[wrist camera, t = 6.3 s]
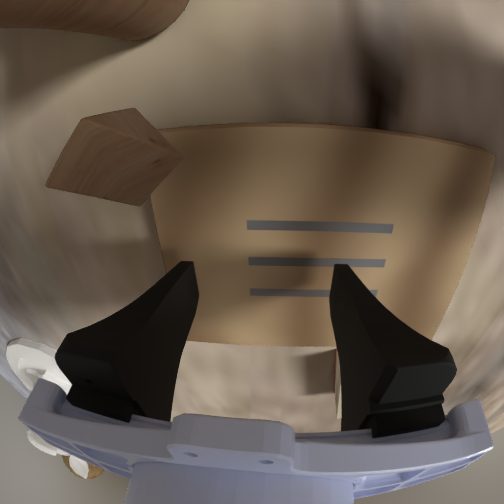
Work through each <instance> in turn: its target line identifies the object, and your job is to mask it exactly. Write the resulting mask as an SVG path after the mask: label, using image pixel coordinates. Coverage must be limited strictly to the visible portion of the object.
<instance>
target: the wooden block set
mask: <svg viewBox="0 0 504 504" xmlns="http://www.w3.org/2000/svg"><path fill="white" fill-rule="evenodd" d="M188 2H189V0H0V28H41V29H55V30H66V31H75V32H82V33H89V34H96V35H102V36H108V37H113V38H118V39H123V40H133V41H137V40H141V39H145V38H149V37H151V36H153V35H155V34H157V33H159V32H161V31H163V30H164V29H166V28H167V27H168V26H169V25H171V24H172V23H173V22H175V21H176V19H177V18H178V17H179V16H180V15H181V13H182V12H183V11H184V10H185V8H186V6H187V4H188ZM182 160H183V156H182V155H181V154H180V153H179V152H178V151H177V150H176V149H175V148H174V147H173V146H172V145H171V144H170V143H169V142H168V141H167V140H166V139H165V138H164V137H163V136H162V135H161V134H160V133H159V132H158V131H157V130H156V129H155V128H154V127H153V126H152V125H151V124H150V123H149V122H148V121H147V120H146V119H145V118H144V117H143V116H142V115H141V114H140V113H139V112H138V111H137V110H136V109H135V108H130V109H124V110H119V111H113V112H108V113H103V114H99V115H94V116H90V117H86V118H83V119H81V120H80V122H79V124H78V125H77V127H76V128H75V130H74V132H73V133H72V135H71V137H70V139H69V140H68V142H67V144H66V146H65V147H64V149H63V151H62V153H61V155H60V157H59V159H58V160H57V162H56V164H55V166H54V168H53V170H52V172H51V174H50V176H49V178H48V181H47V183H46V187H48V188H53V189H58V190H63V191H68V192H73V193H78V194H83V195H87V196H92V197H97V198H102V199H106V200H111V201H116V202H121V203H125V204H130V205H134V206H141V205H142V204H143V202H144V201H145V200H146V199H147V198H148V197H149V196H150V194H151V193H152V192H153V191H154V190H155V189H156V188H157V187H158V185H159V184H160V183H161V182H162V181H163V180H164V179H165V178H166V177H167V176H168V175H169V173H170V172H171V171H172V170H173V169H174V168H175V167H176V166H177V165H178V164H179V163H180V162H181V161H182Z"/></svg>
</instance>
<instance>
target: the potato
mask: <svg viewBox="0 0 504 504" xmlns="http://www.w3.org/2000/svg"><path fill="white" fill-rule="evenodd" d="M62 457H63V460H64V463H65V464H66V466H67V467H68V468H69V470H70V471H71V472H72V473H73V474H74V475H76V476H78V477H80V478H83V477H82V476H80V475H78V474H76V473H75V472H74V471H73V469H72V468H71V467H70V463H69V457H70V456H65V455H62ZM86 463H87V464H88V469H89V472H88V476H87V478H88V479H93V478H96V477H98V476H100V475H101V474H102V473H103V471H104V469H102V468H100V467H97V466H95V465H93V464H90V463H88V462H86Z"/></svg>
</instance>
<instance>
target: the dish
mask: <svg viewBox="0 0 504 504" xmlns="http://www.w3.org/2000/svg"><path fill="white" fill-rule="evenodd" d="M56 352H57V351H56V350H54V349H52V348H50V347H48V346H46V345H44V344H42V343H38V342H34V341H30V340H26V339H23V338H20V339H17V340H14V341H11V342H10V343H9V344H8V346H7V352H6V357H7V359H8V362H9V364H10V366H11V368H12V370H13V371H14V373H15V374H16V375H17V376H18V378H19V379H20V380H21V381H22V383H23V384H24V385H25V386H26V387H27V388H28V389H29V390H30V391H32V390H33V388H34V386H35V384H36V382H37V380H38V378H42V379H45V380H48V381H50V382H53V383H55V384H57V385H59V386H60V387H61V388H62V389H63V390H64V391H65V392H66V394H68V392H69V390H70V388H71V386H72V384H71V383H70V381H69V380H68V379H67V378H66V376H65V375H64V374H63V373H62V371H61V370H60V369H59V367H58V365H57V364H56V361H55V353H56ZM27 437H28V439H29V441H30V442H31V443H32V444H33V445H34V446H35V447H37V448H38V449H40V450H42V451H44V452H46V453H48V454H51V455H55V456H56V453H58V454H61V455H65V456H70V457H69V463H70V467H71V468H72V469H73V471H74V472H75V473H76V474H78V475H80V476H82V477H83V478H87V476H88V472H89V469H88V464H87V463H86V461H84V460H81V459H79V458H77V457H75V456H73V455H71V454H69V453H66V452H64V451H62V450H60V449H58V448H56V447H54V446H52V445H50V444H48V443H47V442H45V441H44V440H43V439H42V438H40V437H39V436H38V435H37V434H35V433H34V432H33V431H31V430H27Z"/></svg>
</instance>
